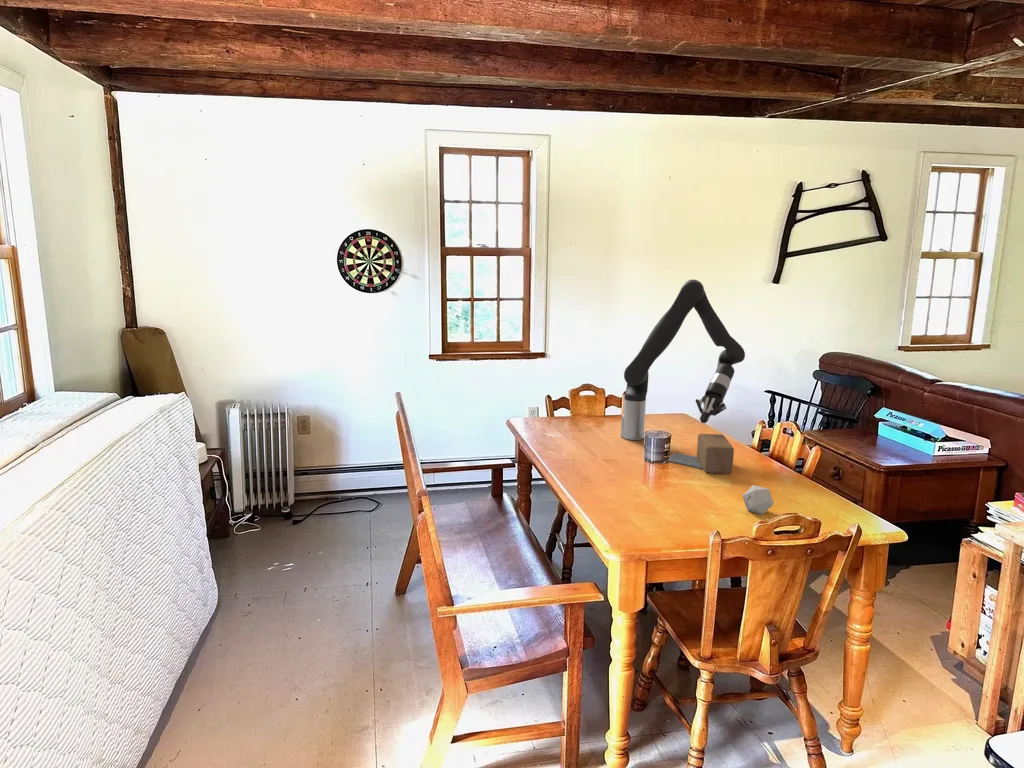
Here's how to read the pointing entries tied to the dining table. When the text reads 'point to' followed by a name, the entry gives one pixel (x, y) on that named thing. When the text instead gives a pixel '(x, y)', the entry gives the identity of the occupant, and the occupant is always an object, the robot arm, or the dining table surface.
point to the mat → (685, 460)
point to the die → (758, 499)
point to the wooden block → (715, 453)
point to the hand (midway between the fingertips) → (702, 421)
